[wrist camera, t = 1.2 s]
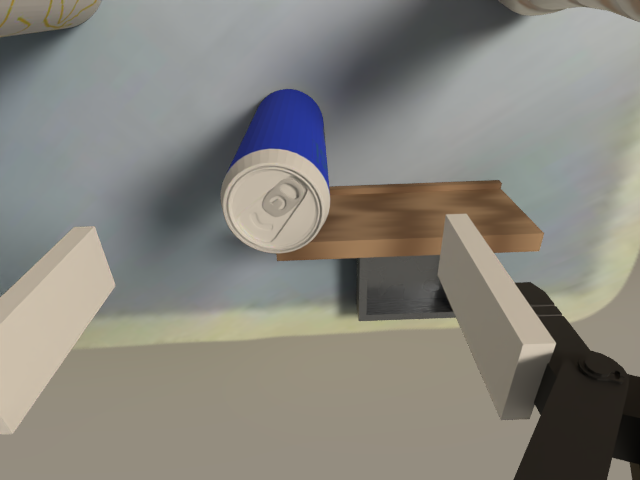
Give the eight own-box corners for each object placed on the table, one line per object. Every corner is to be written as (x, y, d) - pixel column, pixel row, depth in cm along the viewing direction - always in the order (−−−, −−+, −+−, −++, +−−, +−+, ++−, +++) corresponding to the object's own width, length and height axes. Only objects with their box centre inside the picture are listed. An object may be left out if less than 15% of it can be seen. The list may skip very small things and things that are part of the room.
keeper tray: (356, 303, 41) (358, 321, 39) (357, 219, 36) (360, 234, 34) (451, 300, 41) (459, 317, 38) (465, 215, 36) (475, 229, 34)
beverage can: (293, 167, 33) (281, 276, 20) (241, 125, 32) (193, 215, 19) (337, 120, 31) (354, 206, 19) (285, 71, 30) (264, 130, 17)
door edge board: (284, 214, 35) (277, 266, 29) (282, 188, 34) (274, 237, 27) (493, 206, 35) (537, 257, 29) (498, 180, 34) (545, 226, 27)
